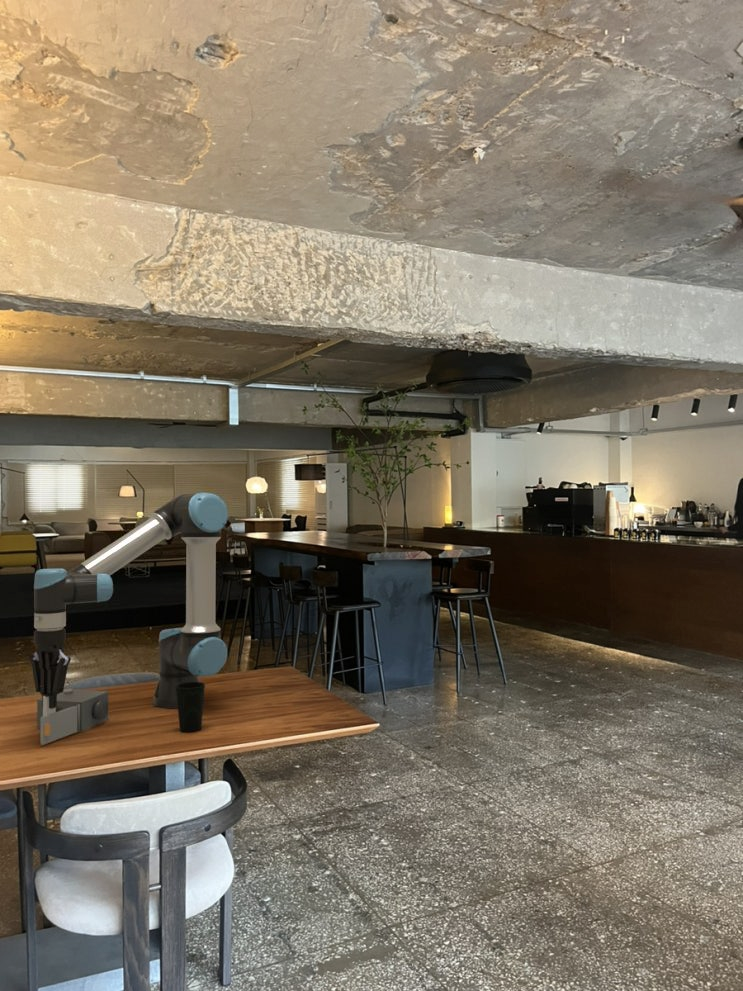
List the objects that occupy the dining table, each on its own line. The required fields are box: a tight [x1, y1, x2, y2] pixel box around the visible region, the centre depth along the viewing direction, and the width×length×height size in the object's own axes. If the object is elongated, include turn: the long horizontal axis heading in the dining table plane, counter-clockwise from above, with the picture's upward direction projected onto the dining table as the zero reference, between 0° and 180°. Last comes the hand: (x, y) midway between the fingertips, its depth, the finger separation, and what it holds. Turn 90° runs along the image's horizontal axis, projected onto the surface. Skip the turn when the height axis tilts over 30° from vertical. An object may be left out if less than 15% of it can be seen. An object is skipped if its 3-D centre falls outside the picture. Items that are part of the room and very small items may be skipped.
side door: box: [40, 706, 78, 746], centre depth 187 cm, size 12×1×7 cm, turn 158°
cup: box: [176, 681, 206, 734], centre depth 195 cm, size 8×8×12 cm
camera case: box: [36, 688, 109, 733], centre depth 201 cm, size 16×13×9 cm
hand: (49, 720), depth 186 cm, fingers closed
